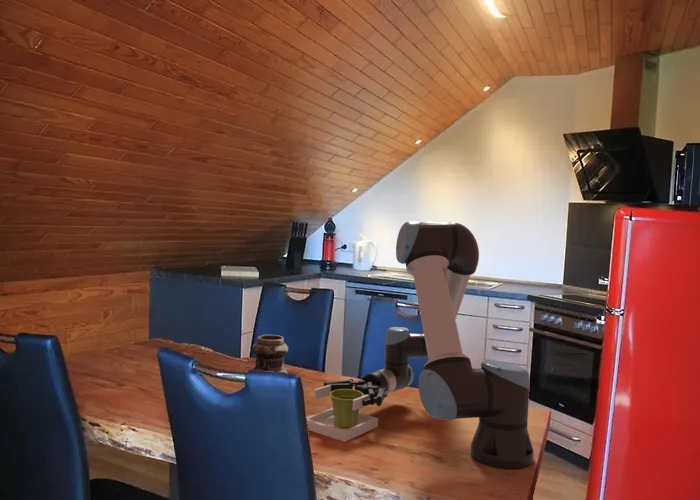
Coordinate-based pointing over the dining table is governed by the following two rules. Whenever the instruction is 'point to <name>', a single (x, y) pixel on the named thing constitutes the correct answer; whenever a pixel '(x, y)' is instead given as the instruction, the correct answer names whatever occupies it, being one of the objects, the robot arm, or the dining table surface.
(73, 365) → the dining table surface
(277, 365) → the apothecary jar
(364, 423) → the pot tray
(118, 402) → the dining table surface
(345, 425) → the plant pot
